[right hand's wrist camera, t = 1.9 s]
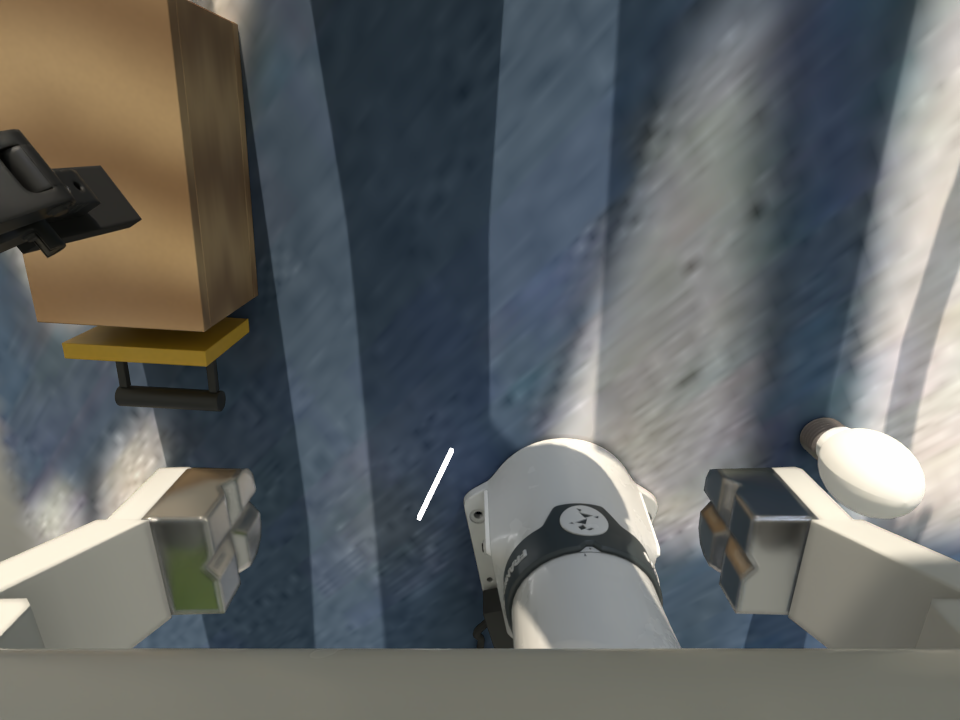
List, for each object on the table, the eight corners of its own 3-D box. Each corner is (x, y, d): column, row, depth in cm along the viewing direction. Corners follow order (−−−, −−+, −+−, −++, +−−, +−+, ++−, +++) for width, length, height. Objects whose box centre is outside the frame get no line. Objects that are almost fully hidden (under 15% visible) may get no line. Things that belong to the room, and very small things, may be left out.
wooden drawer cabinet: (258, 295, 49) (204, 332, 39) (124, 287, 49) (37, 322, 39) (237, 24, 42) (166, -12, 32) (80, 12, 42) (-40, -27, 32)
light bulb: (777, 461, 55) (846, 535, 44) (798, 397, 52) (877, 459, 42) (846, 468, 55) (930, 543, 45) (870, 404, 52) (965, 468, 42)
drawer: (254, 389, 51) (214, 433, 43) (139, 383, 51) (78, 426, 43) (229, 87, 42) (174, 75, 35) (90, 78, 42) (3, 63, 35)
